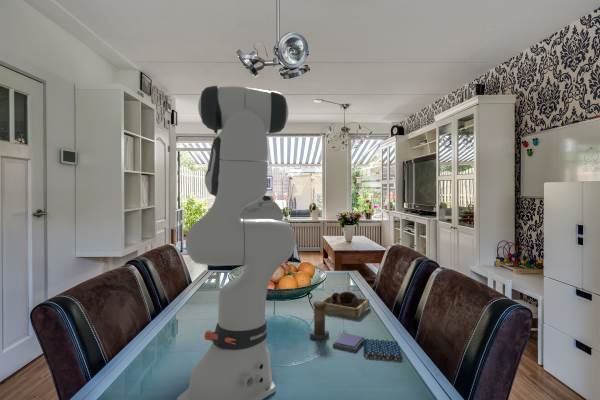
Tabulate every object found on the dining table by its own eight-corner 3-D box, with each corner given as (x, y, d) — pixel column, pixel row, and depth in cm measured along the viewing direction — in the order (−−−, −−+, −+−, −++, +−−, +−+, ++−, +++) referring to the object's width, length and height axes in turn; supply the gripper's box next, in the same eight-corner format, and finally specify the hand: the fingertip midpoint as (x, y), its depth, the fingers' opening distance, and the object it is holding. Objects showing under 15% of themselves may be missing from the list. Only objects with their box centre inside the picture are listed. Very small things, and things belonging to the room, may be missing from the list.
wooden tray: (357, 318, 125) (357, 309, 125) (318, 311, 132) (318, 302, 132) (369, 308, 137) (369, 299, 137) (332, 302, 145) (332, 293, 145)
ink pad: (355, 352, 97) (355, 347, 97) (332, 346, 101) (332, 342, 101) (365, 340, 105) (365, 336, 105) (343, 336, 109) (343, 332, 109)
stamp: (323, 341, 105) (323, 306, 105) (310, 338, 107) (310, 304, 107) (328, 336, 109) (329, 302, 109) (316, 333, 111) (316, 300, 111)
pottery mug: (362, 309, 137) (363, 295, 132) (350, 325, 130) (351, 310, 126) (337, 297, 143) (337, 282, 139) (324, 311, 137) (324, 297, 133)
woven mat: (403, 363, 92) (403, 355, 92) (363, 359, 94) (363, 352, 94) (399, 346, 102) (399, 340, 102) (363, 343, 104) (363, 337, 104)
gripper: (224, 207, 118) (239, 240, 112) (275, 195, 128) (291, 225, 122) (221, 216, 122) (236, 249, 117) (271, 204, 133) (286, 233, 127)
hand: (265, 236), depth 120 cm, fingers open, 8 cm apart
